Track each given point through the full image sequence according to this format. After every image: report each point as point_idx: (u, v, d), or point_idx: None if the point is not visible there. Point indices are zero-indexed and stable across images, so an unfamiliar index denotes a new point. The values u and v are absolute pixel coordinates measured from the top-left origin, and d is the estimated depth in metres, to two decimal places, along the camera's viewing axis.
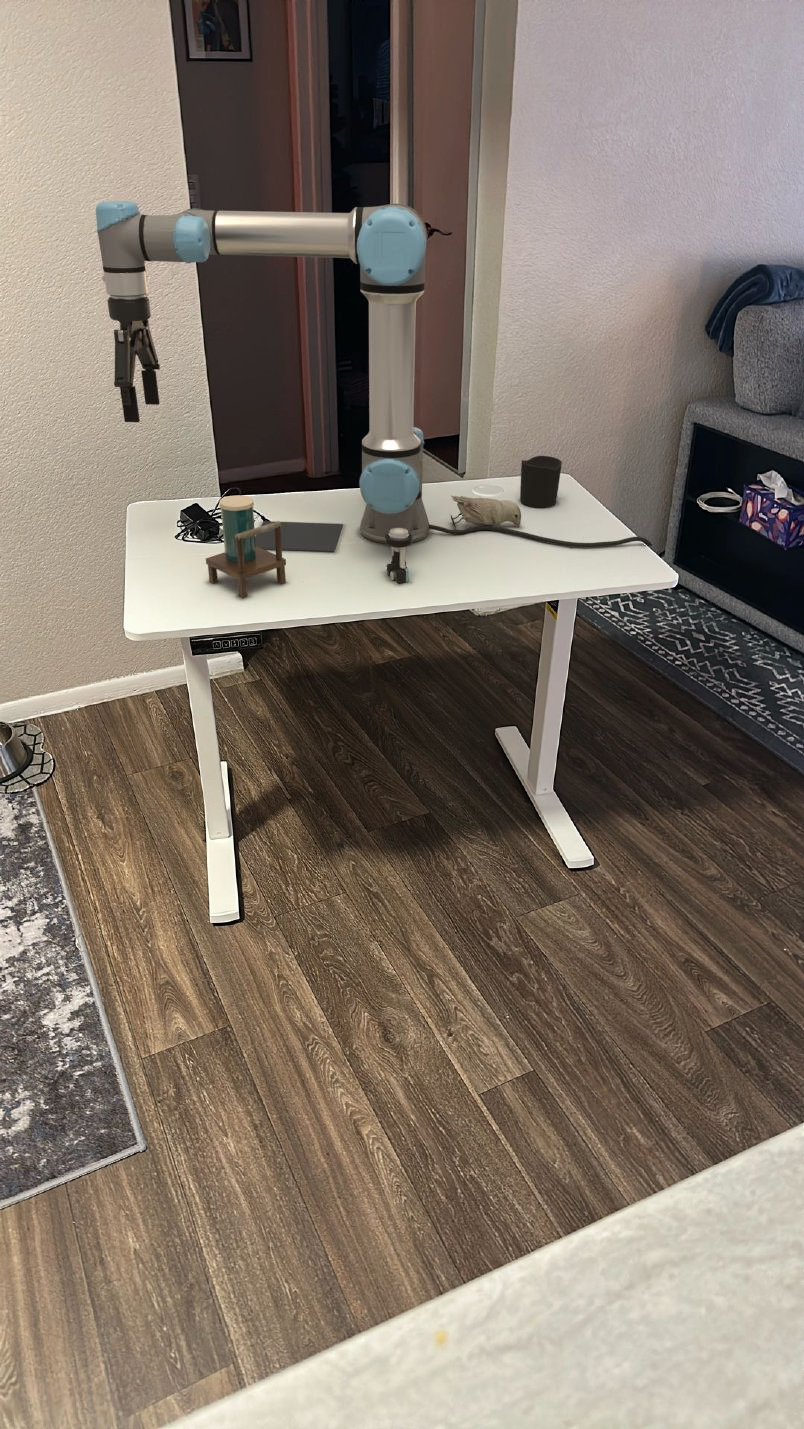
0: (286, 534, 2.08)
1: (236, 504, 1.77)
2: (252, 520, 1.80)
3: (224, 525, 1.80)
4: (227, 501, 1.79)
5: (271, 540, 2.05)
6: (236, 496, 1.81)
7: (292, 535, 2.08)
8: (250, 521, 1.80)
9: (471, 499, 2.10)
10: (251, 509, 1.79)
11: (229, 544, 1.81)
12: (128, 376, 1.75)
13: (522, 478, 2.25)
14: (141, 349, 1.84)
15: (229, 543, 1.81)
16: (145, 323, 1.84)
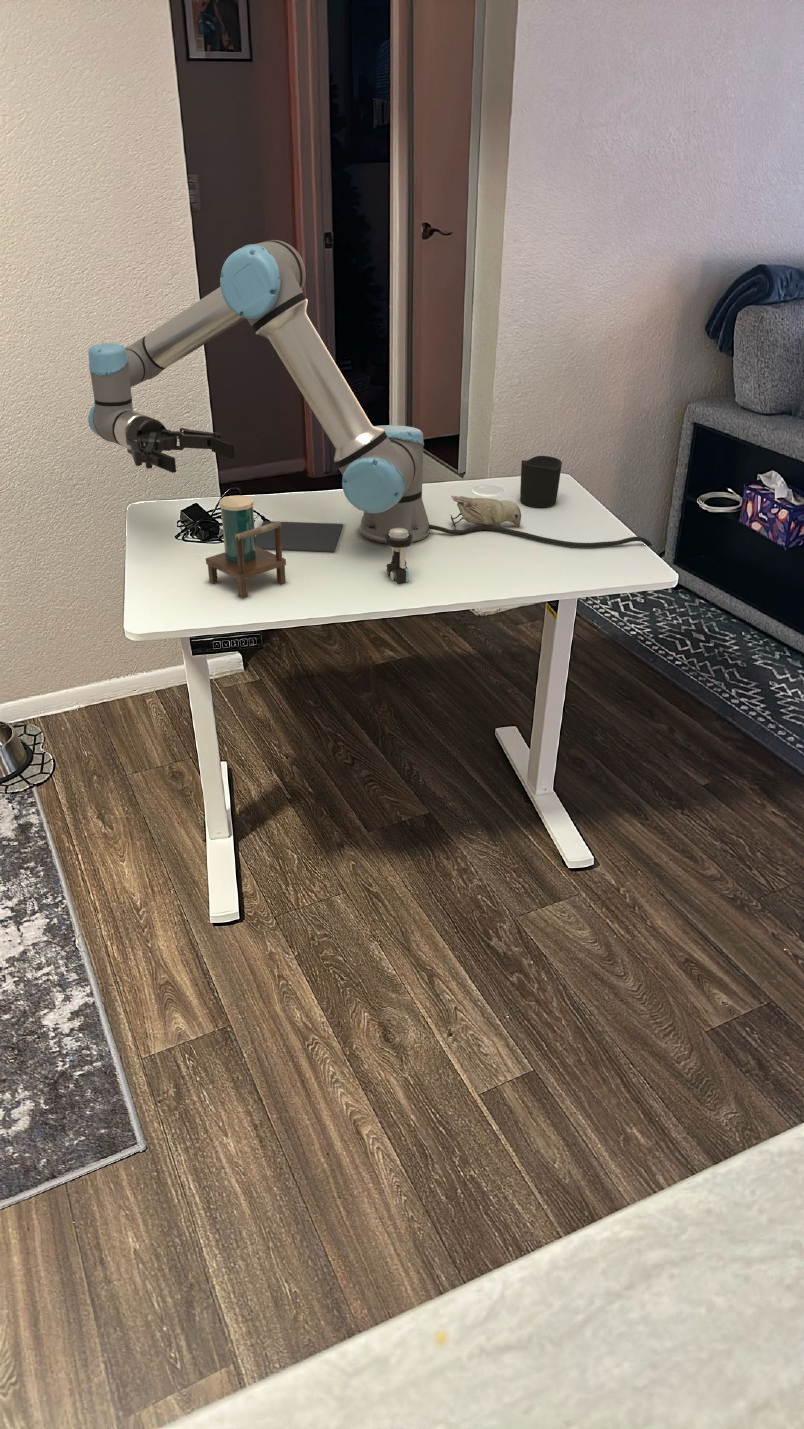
0: (286, 534, 2.08)
1: (236, 504, 1.77)
2: (252, 520, 1.80)
3: (224, 525, 1.80)
4: (227, 501, 1.79)
5: (271, 540, 2.05)
6: (236, 496, 1.81)
7: (292, 535, 2.08)
8: (250, 521, 1.80)
9: (471, 499, 2.10)
10: (251, 509, 1.79)
11: (229, 544, 1.81)
12: (135, 450, 1.81)
13: (522, 478, 2.25)
14: (185, 441, 1.90)
15: (229, 543, 1.81)
16: (180, 430, 1.94)
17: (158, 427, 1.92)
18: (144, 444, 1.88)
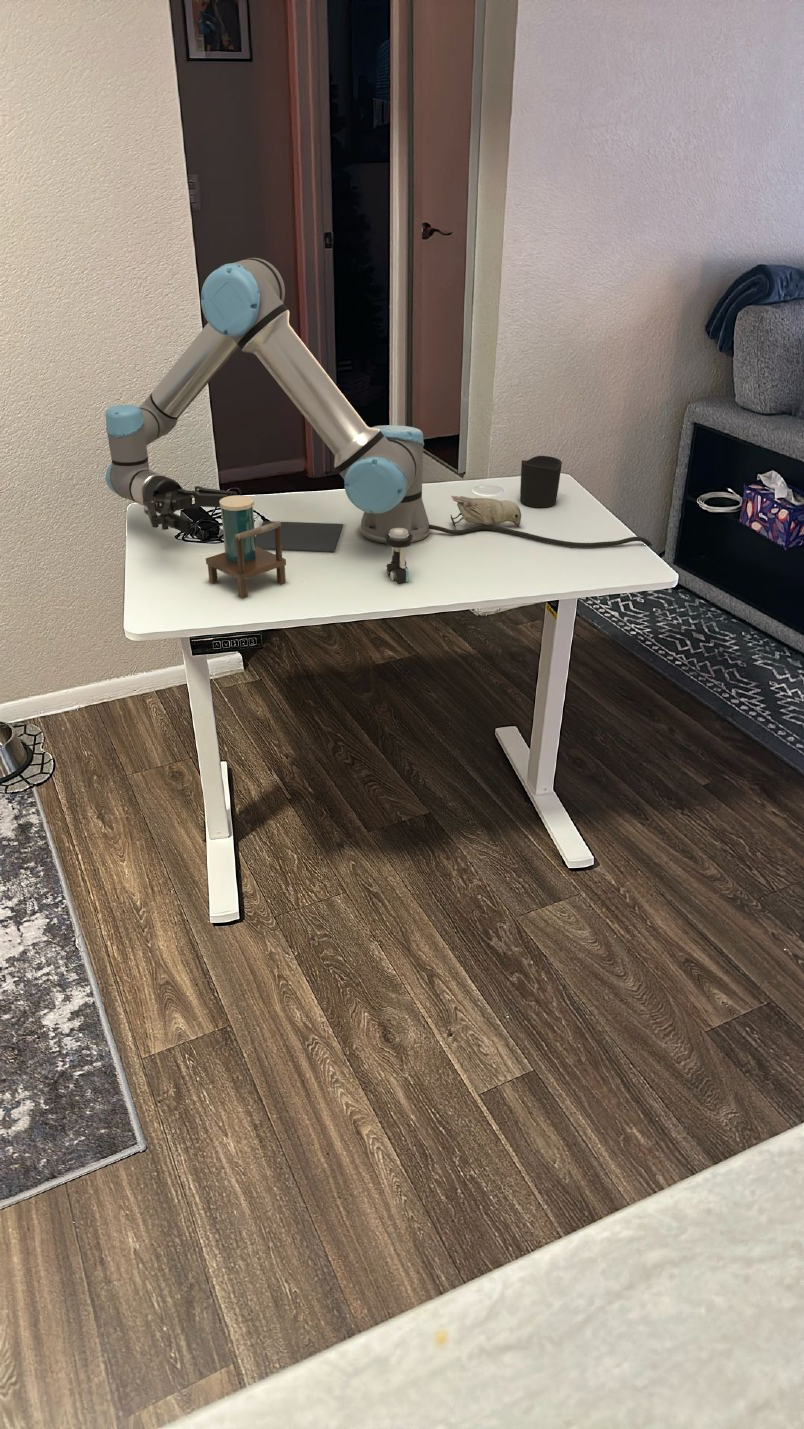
0: (286, 534, 2.08)
1: (236, 504, 1.77)
2: (252, 520, 1.80)
3: (224, 525, 1.80)
4: (227, 501, 1.79)
5: (271, 540, 2.05)
6: (236, 496, 1.81)
7: (292, 535, 2.08)
8: (250, 521, 1.80)
9: (471, 499, 2.10)
10: (251, 509, 1.79)
11: (229, 544, 1.81)
12: (151, 512, 1.85)
13: (522, 478, 2.25)
14: (200, 500, 1.94)
15: (229, 543, 1.81)
16: (196, 489, 1.98)
17: (174, 486, 1.96)
18: (160, 504, 1.92)
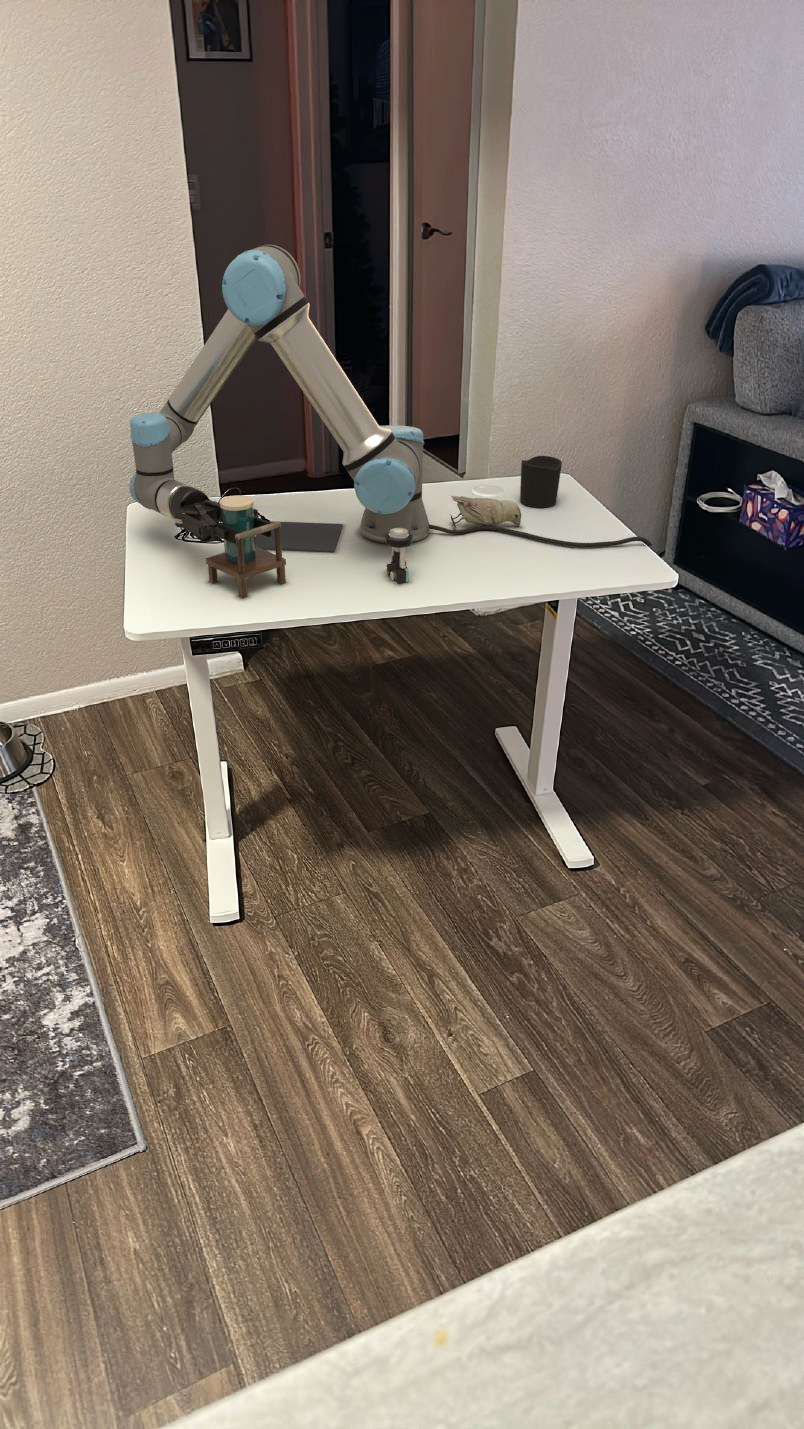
0: (286, 534, 2.08)
1: (236, 504, 1.77)
2: (252, 520, 1.80)
3: None
4: (227, 501, 1.79)
5: (271, 540, 2.05)
6: (236, 496, 1.81)
7: (292, 535, 2.08)
8: (250, 521, 1.80)
9: (471, 499, 2.10)
10: (251, 509, 1.79)
11: (229, 544, 1.81)
12: (199, 524, 1.80)
13: (522, 478, 2.25)
14: None
15: (229, 543, 1.81)
16: None
17: (201, 497, 1.90)
18: (189, 516, 1.87)
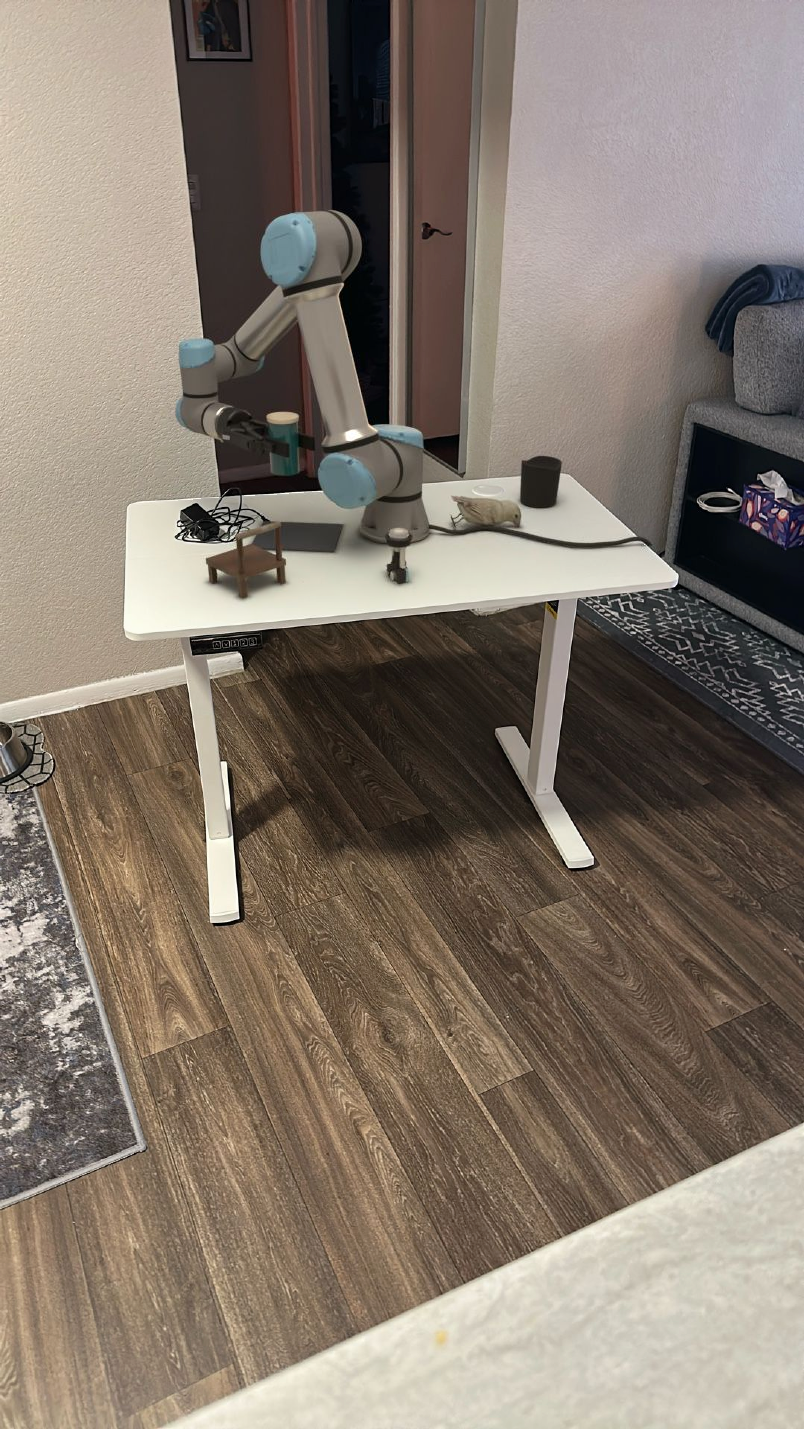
0: (286, 534, 2.08)
1: (283, 418, 1.88)
2: (297, 434, 1.91)
3: None
4: (274, 416, 1.90)
5: (271, 540, 2.05)
6: (282, 413, 1.92)
7: (292, 535, 2.08)
8: (295, 435, 1.91)
9: (471, 499, 2.10)
10: (296, 424, 1.90)
11: (275, 458, 1.92)
12: (247, 438, 1.90)
13: (522, 478, 2.25)
14: None
15: (275, 456, 1.92)
16: None
17: (246, 417, 2.01)
18: None
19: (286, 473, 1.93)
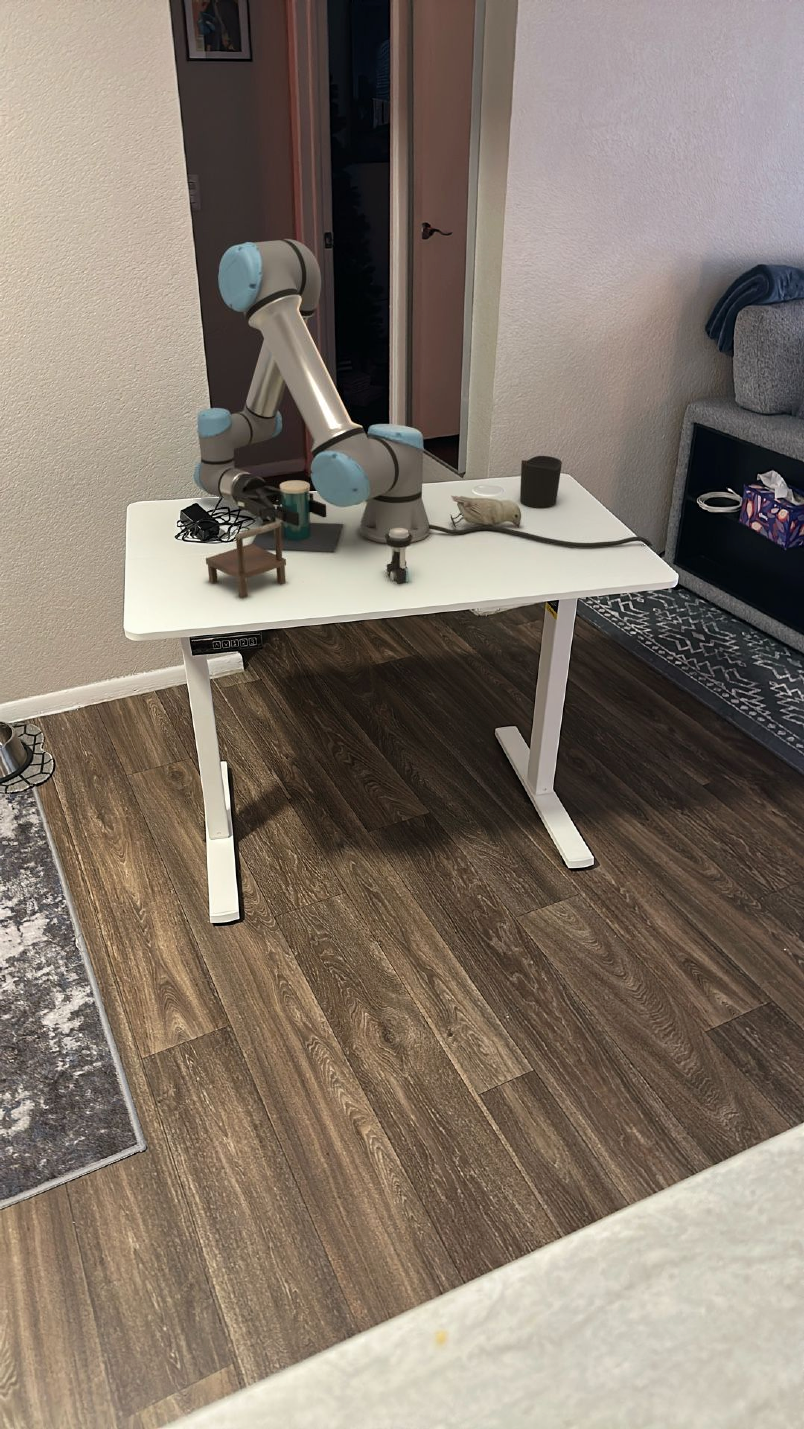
0: None
1: (295, 488, 2.00)
2: (308, 502, 2.03)
3: None
4: (286, 485, 2.01)
5: (271, 540, 2.05)
6: (294, 481, 2.04)
7: None
8: (306, 503, 2.02)
9: (471, 499, 2.10)
10: (308, 492, 2.02)
11: (287, 524, 2.04)
12: (259, 506, 2.02)
13: (522, 478, 2.25)
14: None
15: (288, 523, 2.04)
16: None
17: (260, 483, 2.13)
18: (250, 499, 2.09)
19: (298, 538, 2.05)
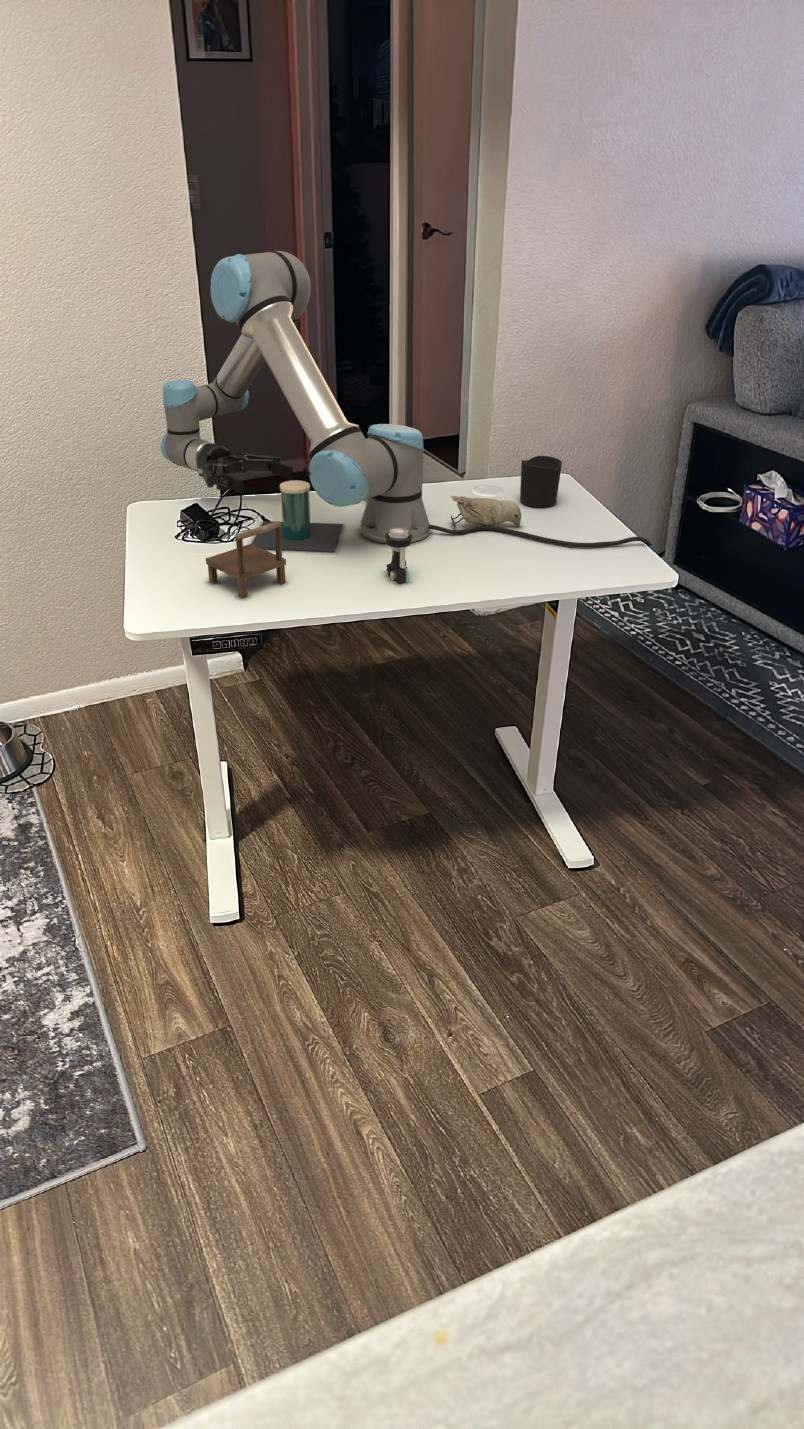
0: None
1: (295, 488, 2.00)
2: (308, 502, 2.03)
3: (283, 507, 2.02)
4: (286, 485, 2.01)
5: (271, 540, 2.05)
6: (294, 481, 2.04)
7: None
8: (306, 503, 2.02)
9: (471, 499, 2.10)
10: (308, 492, 2.02)
11: (287, 524, 2.04)
12: (207, 474, 2.07)
13: (522, 478, 2.25)
14: (248, 464, 2.17)
15: (288, 523, 2.04)
16: (243, 455, 2.20)
17: (224, 453, 2.18)
18: (213, 468, 2.15)
19: (298, 538, 2.05)
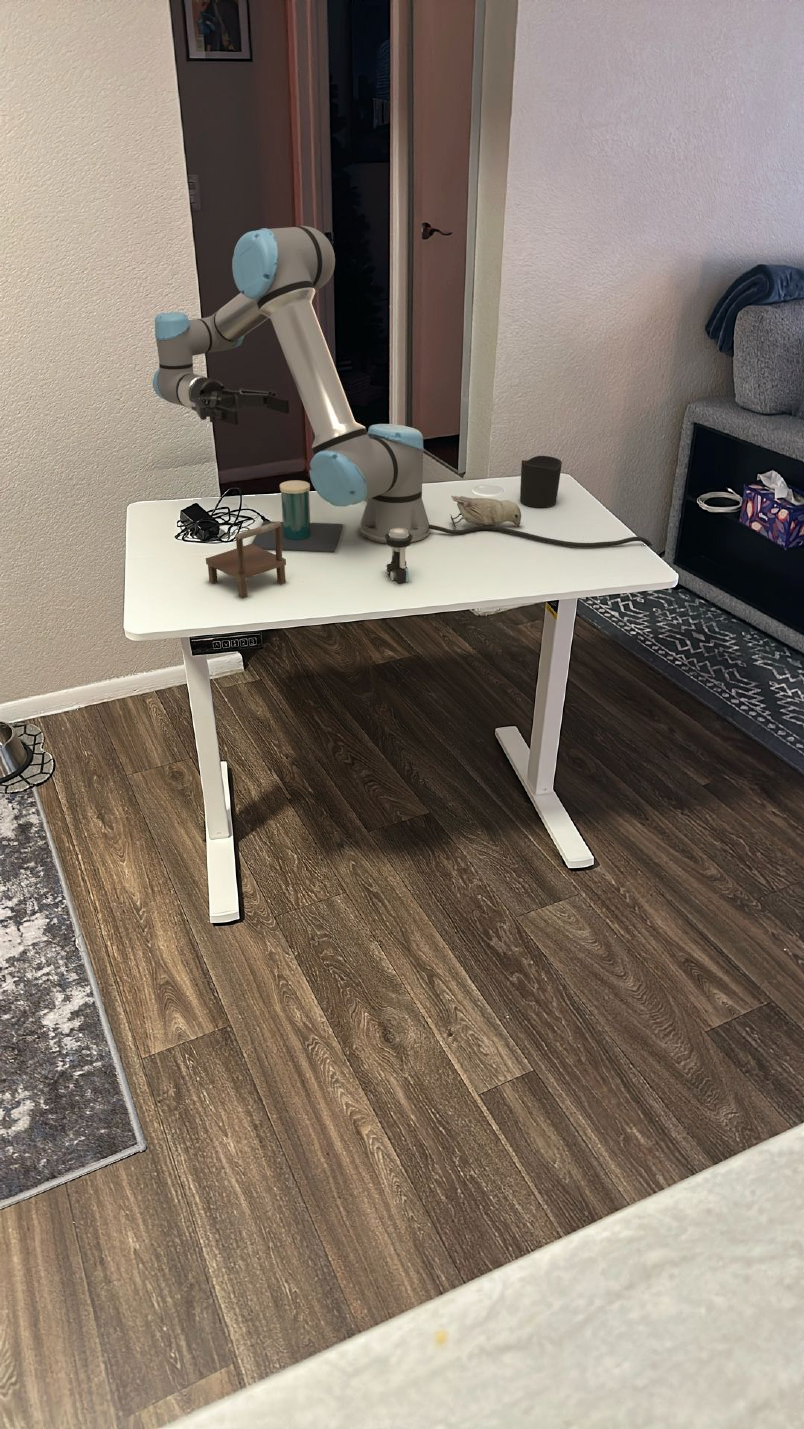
0: None
1: (295, 488, 2.00)
2: (308, 502, 2.03)
3: (283, 507, 2.02)
4: (286, 485, 2.01)
5: (271, 540, 2.05)
6: (294, 481, 2.04)
7: None
8: (306, 503, 2.02)
9: (471, 499, 2.10)
10: (308, 492, 2.02)
11: (287, 524, 2.04)
12: (200, 406, 1.99)
13: (522, 478, 2.25)
14: (243, 399, 2.09)
15: (288, 523, 2.04)
16: (238, 390, 2.13)
17: (218, 387, 2.11)
18: (206, 402, 2.07)
19: (298, 538, 2.05)
